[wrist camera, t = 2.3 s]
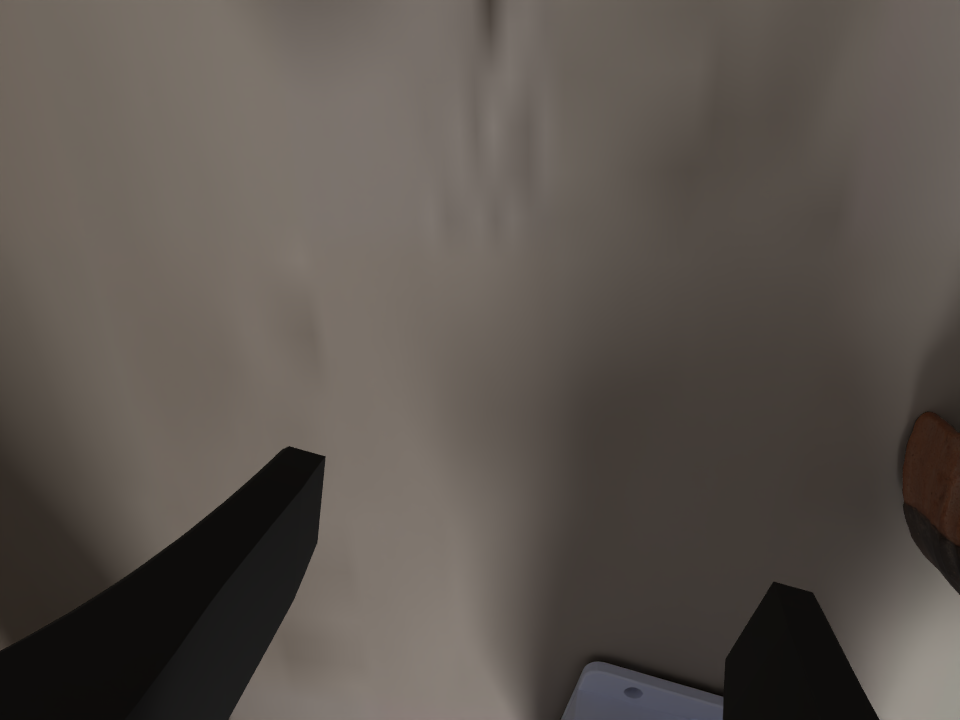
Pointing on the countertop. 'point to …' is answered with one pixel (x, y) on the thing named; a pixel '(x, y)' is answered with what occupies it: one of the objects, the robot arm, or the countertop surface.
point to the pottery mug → (934, 493)
